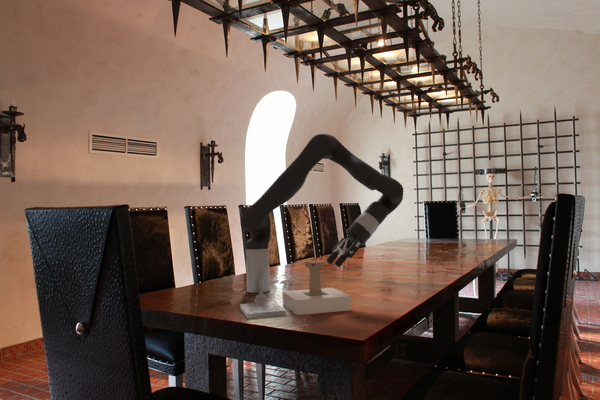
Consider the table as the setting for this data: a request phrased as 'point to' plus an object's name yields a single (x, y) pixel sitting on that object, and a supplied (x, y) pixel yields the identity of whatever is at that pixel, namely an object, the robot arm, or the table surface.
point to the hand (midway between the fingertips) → (332, 264)
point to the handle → (314, 277)
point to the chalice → (260, 270)
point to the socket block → (316, 301)
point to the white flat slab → (262, 310)
